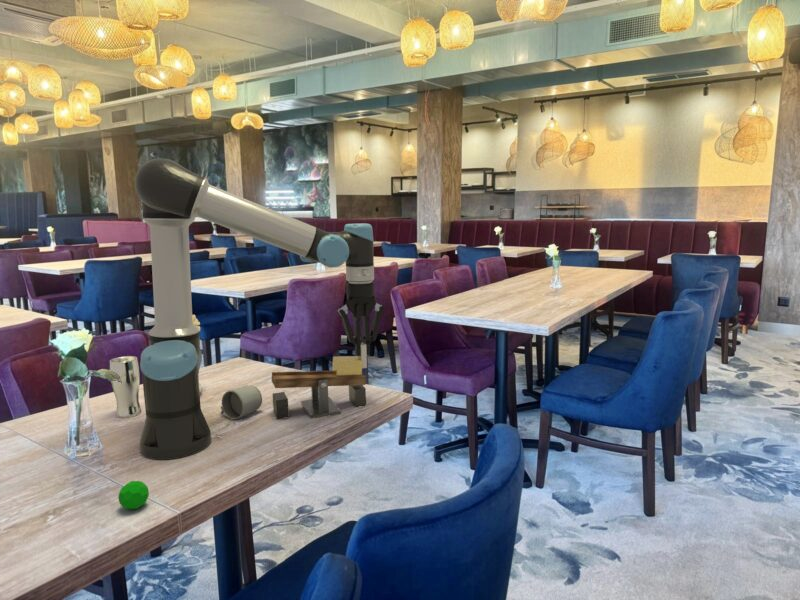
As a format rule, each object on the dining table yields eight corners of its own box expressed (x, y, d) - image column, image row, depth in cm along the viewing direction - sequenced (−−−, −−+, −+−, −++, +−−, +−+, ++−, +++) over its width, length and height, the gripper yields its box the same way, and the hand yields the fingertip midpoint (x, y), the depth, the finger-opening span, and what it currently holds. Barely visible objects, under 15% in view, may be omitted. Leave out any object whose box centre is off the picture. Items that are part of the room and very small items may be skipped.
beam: (275, 388, 142) (275, 379, 141) (271, 380, 148) (271, 372, 148) (365, 384, 151) (365, 376, 150) (358, 378, 157) (358, 369, 156)
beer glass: (129, 407, 153) (123, 355, 151) (149, 410, 151) (144, 356, 149) (108, 416, 147) (102, 361, 144) (129, 419, 145) (123, 363, 142)
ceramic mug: (265, 411, 149) (263, 383, 148) (243, 422, 142) (241, 392, 141) (235, 406, 154) (233, 379, 153) (213, 416, 147) (210, 388, 146)
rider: (336, 379, 148) (337, 360, 148) (332, 374, 153) (333, 356, 152) (361, 378, 151) (362, 360, 150) (356, 373, 155) (357, 356, 155)
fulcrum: (279, 423, 141) (277, 388, 139) (271, 407, 152) (269, 375, 150) (369, 409, 149) (368, 376, 148) (356, 395, 160) (355, 364, 159)
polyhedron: (146, 497, 105) (144, 473, 105) (152, 508, 102) (150, 483, 101) (117, 506, 103) (114, 481, 102) (122, 517, 99) (120, 492, 98)
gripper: (340, 285, 143) (343, 373, 147) (388, 281, 148) (389, 367, 152) (333, 281, 150) (336, 366, 154) (378, 278, 155) (380, 360, 159)
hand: (362, 366), depth 153 cm, fingers closed
